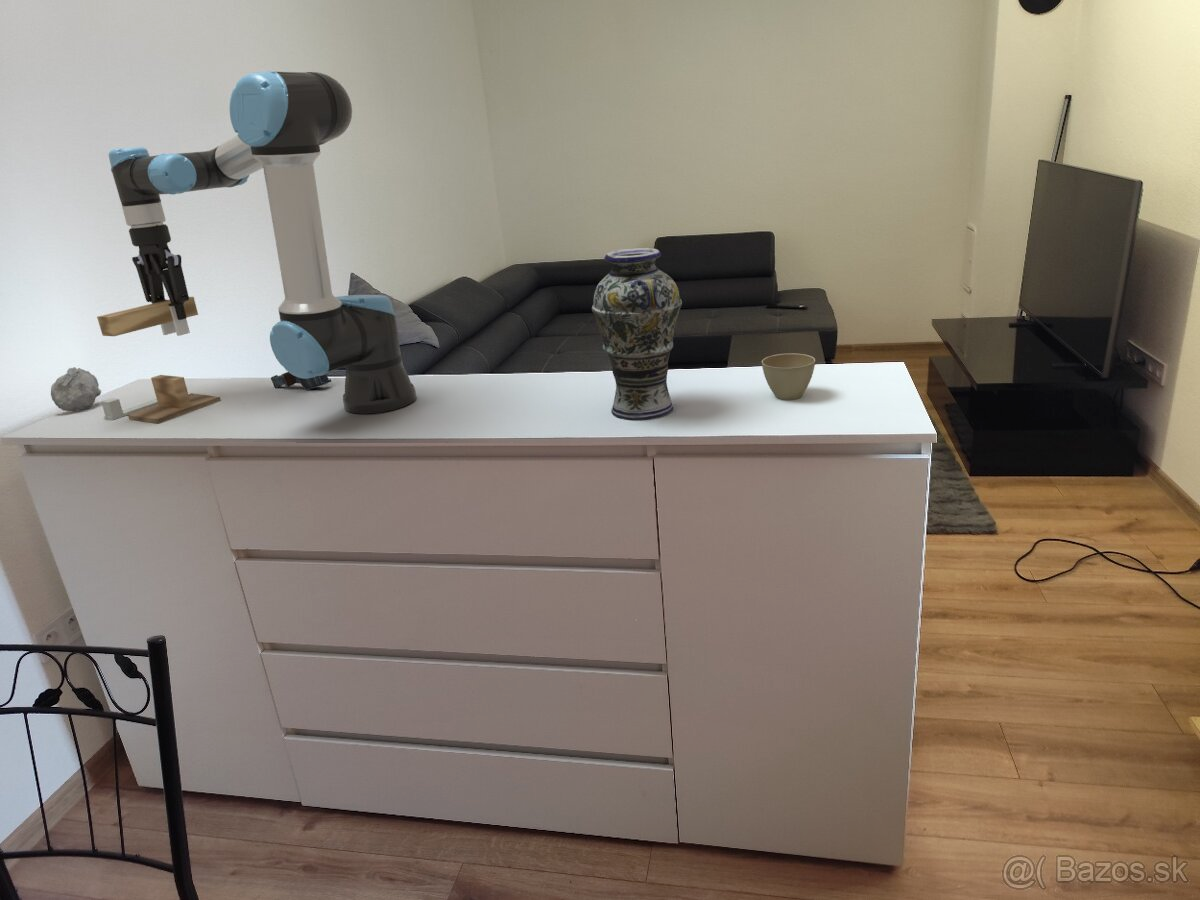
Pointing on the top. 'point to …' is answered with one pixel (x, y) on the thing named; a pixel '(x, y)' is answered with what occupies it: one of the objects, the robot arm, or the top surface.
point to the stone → (75, 390)
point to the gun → (299, 381)
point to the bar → (141, 317)
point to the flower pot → (788, 374)
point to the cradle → (115, 411)
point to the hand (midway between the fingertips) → (176, 333)
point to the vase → (637, 331)
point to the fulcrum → (172, 400)
